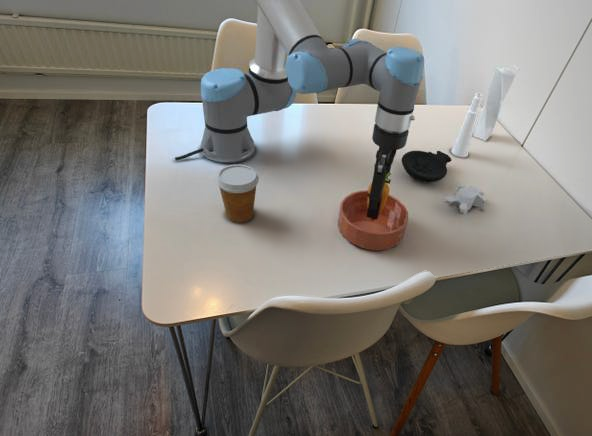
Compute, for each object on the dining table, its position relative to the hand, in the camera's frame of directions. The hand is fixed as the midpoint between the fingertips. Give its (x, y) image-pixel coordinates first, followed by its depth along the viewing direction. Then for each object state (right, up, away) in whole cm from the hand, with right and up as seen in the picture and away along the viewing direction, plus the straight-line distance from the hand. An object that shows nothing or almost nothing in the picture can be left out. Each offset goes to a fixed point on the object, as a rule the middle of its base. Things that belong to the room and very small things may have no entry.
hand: (374, 210), depth 100 cm
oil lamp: (+17, +12, +29) cm, 36 cm away
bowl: (-1, -5, +4) cm, 6 cm away
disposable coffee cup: (-34, -1, +1) cm, 34 cm away
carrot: (-1, -3, +2) cm, 3 cm away
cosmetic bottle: (+31, +21, +43) cm, 57 cm away
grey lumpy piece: (+27, +2, +18) cm, 32 cm away
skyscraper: (+43, +30, +57) cm, 77 cm away
